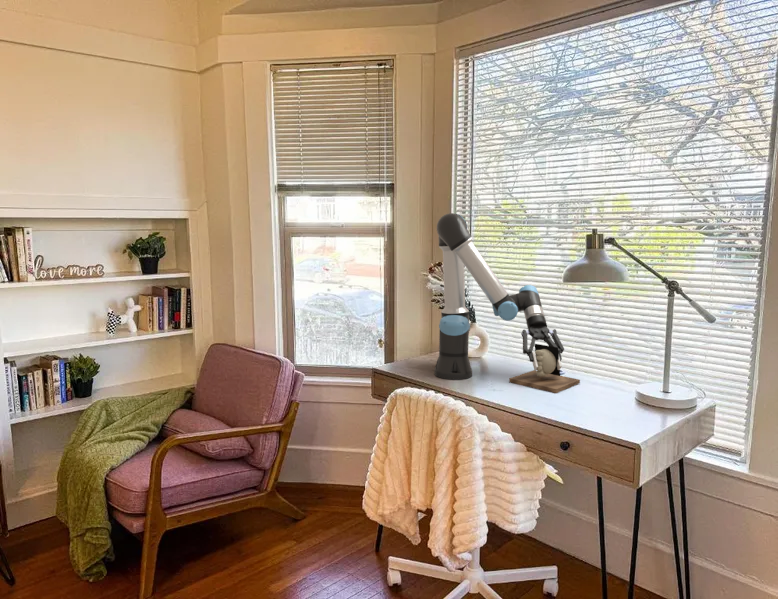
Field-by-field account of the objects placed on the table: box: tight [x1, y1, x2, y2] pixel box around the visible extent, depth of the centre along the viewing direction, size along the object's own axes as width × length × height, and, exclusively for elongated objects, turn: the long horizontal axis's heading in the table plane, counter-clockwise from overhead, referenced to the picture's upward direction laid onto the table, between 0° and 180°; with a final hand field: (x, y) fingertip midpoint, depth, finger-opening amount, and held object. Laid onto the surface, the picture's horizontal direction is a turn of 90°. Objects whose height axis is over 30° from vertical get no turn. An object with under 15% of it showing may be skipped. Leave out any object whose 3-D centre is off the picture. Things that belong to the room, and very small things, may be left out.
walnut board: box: [508, 369, 581, 394], centre depth 224 cm, size 20×18×2 cm
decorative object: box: [534, 343, 561, 377], centre depth 223 cm, size 12×10×10 cm
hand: (548, 368), depth 220 cm, fingers closed on decorative object, 8 cm apart
